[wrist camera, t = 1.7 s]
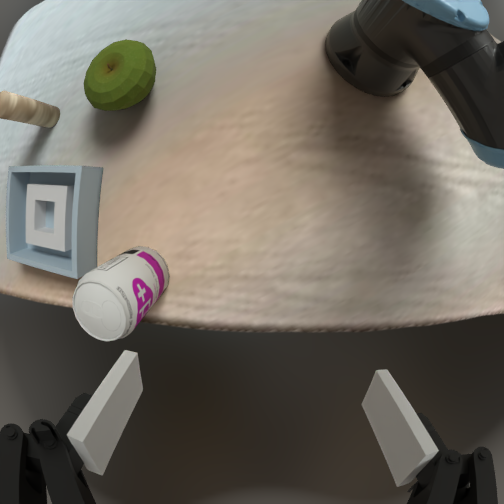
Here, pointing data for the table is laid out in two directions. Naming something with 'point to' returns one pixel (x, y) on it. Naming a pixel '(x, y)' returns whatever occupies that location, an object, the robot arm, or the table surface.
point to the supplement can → (120, 293)
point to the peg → (27, 110)
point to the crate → (53, 217)
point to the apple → (120, 76)
